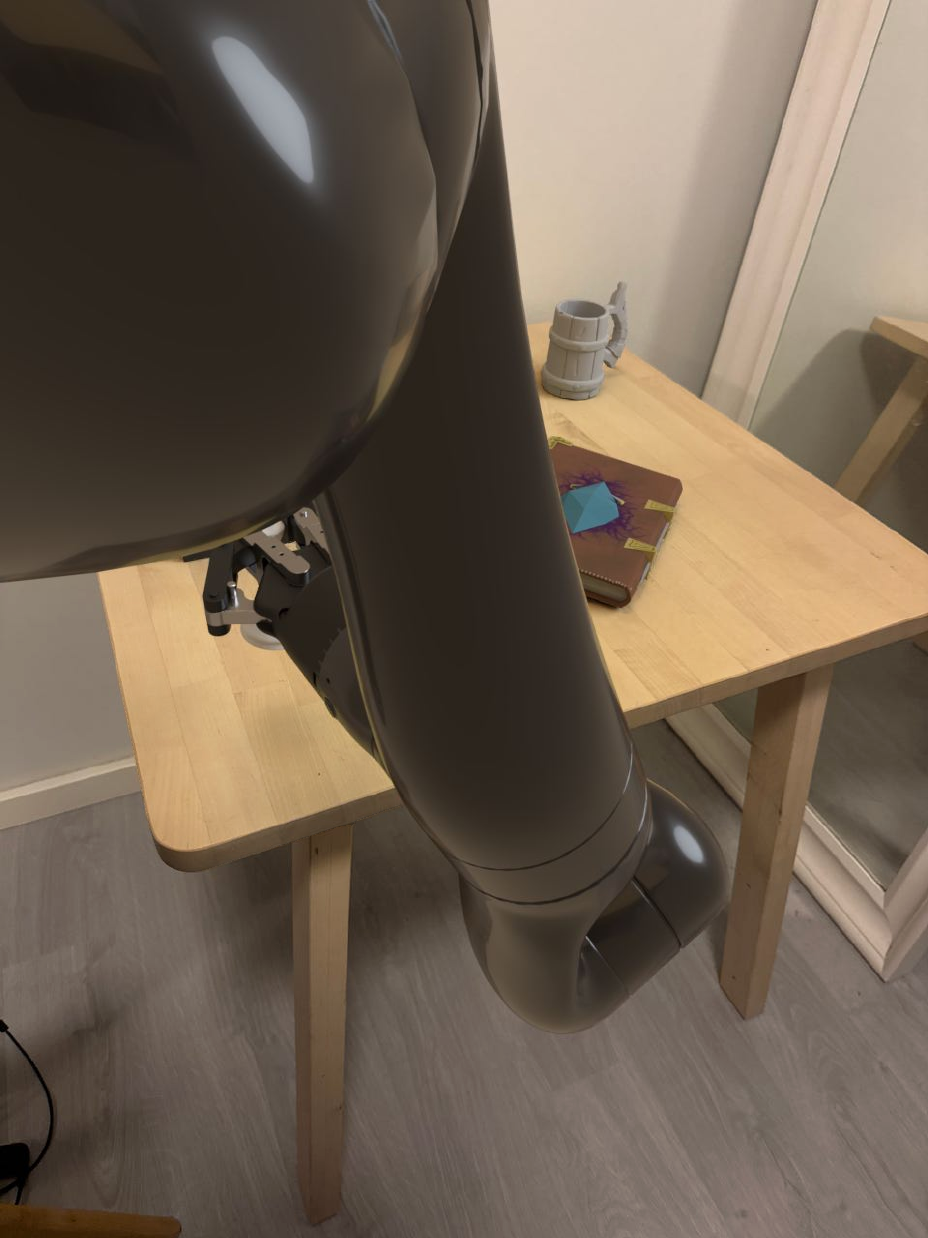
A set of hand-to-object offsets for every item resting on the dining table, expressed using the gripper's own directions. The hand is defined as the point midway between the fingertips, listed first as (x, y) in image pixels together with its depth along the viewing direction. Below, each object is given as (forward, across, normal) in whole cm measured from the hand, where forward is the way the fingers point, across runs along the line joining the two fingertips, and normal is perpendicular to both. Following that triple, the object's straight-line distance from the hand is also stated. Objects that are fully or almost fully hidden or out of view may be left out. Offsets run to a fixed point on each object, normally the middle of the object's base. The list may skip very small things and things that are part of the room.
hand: (247, 503), depth 57 cm
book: (+7, -37, +18) cm, 41 cm away
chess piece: (-3, 0, +8) cm, 9 cm away
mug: (+30, -56, +17) cm, 66 cm away
